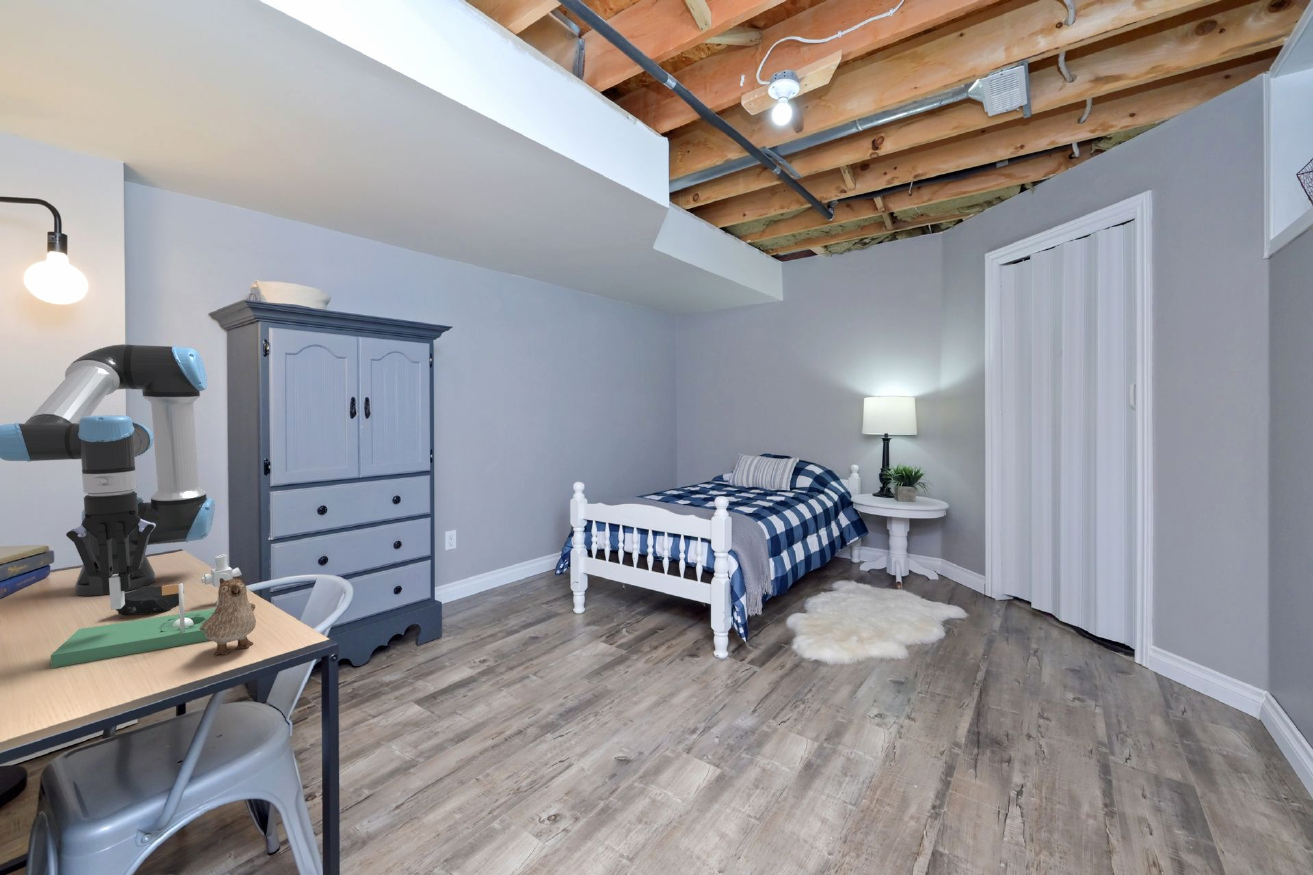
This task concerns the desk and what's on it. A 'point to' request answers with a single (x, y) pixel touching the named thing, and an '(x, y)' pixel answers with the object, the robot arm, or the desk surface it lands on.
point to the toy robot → (220, 573)
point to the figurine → (231, 616)
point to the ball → (187, 622)
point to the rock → (148, 601)
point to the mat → (133, 635)
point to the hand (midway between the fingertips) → (118, 606)
